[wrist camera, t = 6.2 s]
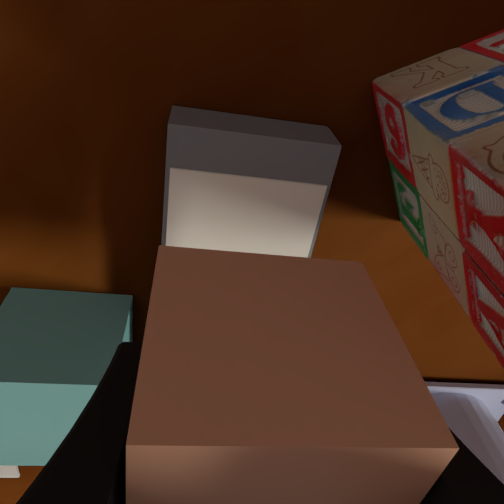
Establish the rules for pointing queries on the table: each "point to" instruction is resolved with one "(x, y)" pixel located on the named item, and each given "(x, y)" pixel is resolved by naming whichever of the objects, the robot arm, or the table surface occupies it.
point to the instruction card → (9, 471)
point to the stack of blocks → (453, 170)
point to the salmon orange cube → (277, 388)
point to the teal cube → (53, 364)
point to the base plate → (245, 182)
